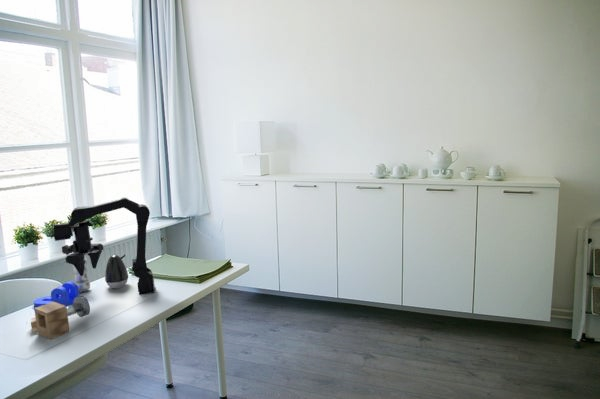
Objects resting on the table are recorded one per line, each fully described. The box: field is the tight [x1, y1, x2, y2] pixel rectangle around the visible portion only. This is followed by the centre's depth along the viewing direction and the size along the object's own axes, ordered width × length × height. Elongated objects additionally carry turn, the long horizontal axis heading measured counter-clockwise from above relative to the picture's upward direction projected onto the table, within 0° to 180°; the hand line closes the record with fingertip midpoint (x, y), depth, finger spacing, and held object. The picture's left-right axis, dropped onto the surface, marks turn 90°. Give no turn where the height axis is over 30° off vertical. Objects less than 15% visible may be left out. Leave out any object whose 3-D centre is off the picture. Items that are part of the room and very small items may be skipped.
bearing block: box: [33, 302, 71, 340], centre depth 166 cm, size 7×9×10 cm
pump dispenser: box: [104, 254, 129, 289], centre depth 212 cm, size 10×10×15 cm
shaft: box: [66, 294, 91, 318], centre depth 171 cm, size 12×8×8 cm, turn 146°
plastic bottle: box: [71, 252, 91, 293], centre depth 207 cm, size 6×7×20 cm
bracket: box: [33, 280, 80, 308], centre depth 194 cm, size 18×8×9 cm, turn 80°
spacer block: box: [30, 317, 38, 333], centre depth 170 cm, size 4×4×4 cm
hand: (88, 272), depth 194 cm, fingers open, 9 cm apart
